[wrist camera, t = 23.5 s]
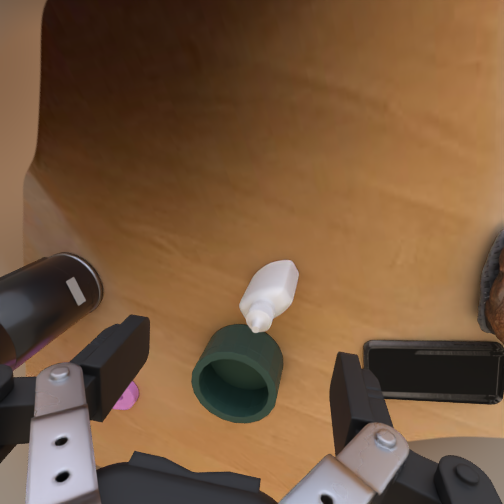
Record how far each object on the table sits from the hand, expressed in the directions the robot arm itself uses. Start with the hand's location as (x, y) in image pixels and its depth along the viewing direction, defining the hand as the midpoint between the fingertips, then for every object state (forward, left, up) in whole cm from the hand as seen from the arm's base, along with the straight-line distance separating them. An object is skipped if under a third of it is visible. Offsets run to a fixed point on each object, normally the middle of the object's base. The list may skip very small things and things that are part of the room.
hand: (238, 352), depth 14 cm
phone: (+19, -16, -26) cm, 36 cm away
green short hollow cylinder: (-3, -22, -26) cm, 34 cm away
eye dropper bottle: (-1, -8, -26) cm, 27 cm away
